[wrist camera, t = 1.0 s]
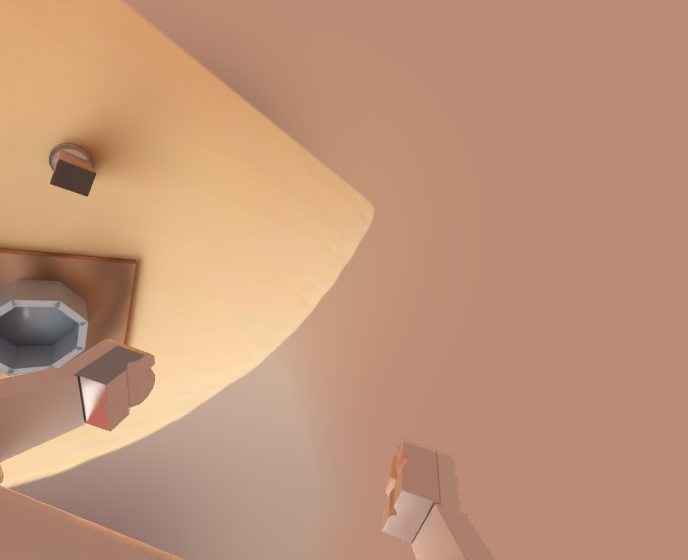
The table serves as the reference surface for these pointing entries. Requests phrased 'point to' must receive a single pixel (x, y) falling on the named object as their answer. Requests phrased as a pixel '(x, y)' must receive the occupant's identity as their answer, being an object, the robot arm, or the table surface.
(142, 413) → the table surface
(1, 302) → the utensil crock
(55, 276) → the serving board
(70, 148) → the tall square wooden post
